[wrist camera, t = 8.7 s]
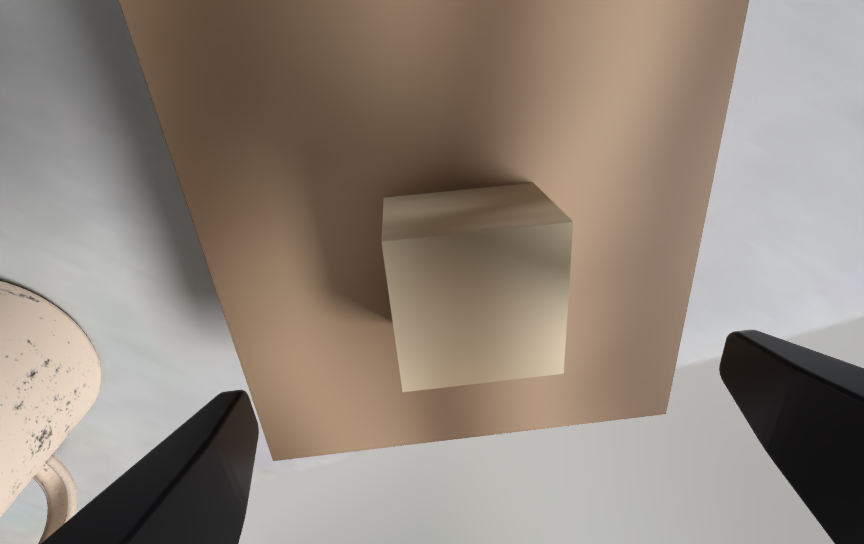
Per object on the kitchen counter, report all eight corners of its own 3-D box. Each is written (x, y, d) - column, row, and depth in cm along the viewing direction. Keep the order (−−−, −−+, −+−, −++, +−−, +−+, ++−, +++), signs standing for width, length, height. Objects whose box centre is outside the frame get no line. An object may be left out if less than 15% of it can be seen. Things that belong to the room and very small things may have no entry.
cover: (737, -55, 11) (893, -99, 7) (654, 398, 17) (719, 485, 14) (135, -4, 10) (11, -26, 7) (278, 443, 17) (249, 544, 13)
